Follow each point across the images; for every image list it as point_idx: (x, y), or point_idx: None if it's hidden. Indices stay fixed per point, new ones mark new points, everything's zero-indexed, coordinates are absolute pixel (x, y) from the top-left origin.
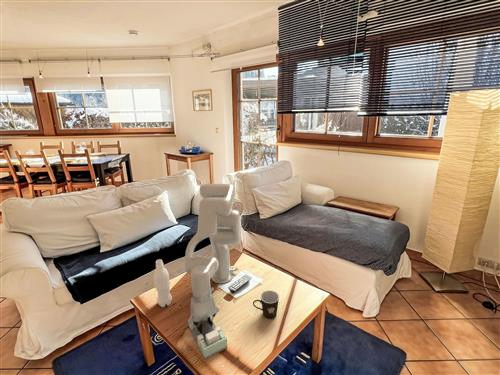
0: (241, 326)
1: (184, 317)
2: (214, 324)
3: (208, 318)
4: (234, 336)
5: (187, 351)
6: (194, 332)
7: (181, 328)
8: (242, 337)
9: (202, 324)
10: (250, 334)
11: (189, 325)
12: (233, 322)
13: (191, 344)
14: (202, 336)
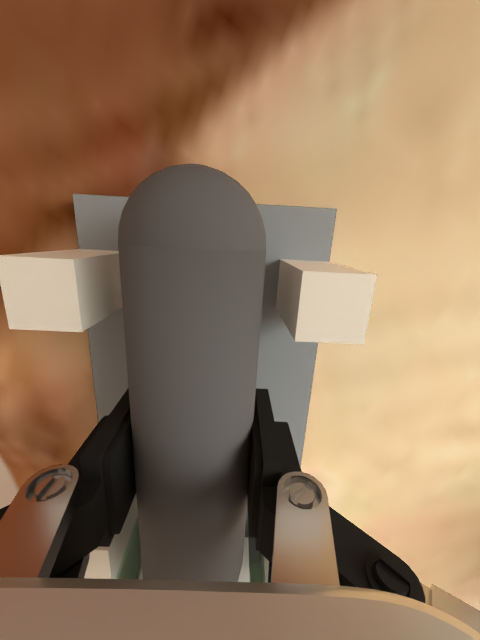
0: (473, 474)
1: (67, 23)
2: (313, 369)
3: (261, 483)
4: (373, 513)
5: (23, 451)
6: (106, 349)
7: (5, 192)
8: (408, 542)
9: (146, 496)
10: (465, 549)
11: (79, 232)
12: (458, 412)
13: (65, 415)
14: (106, 574)
